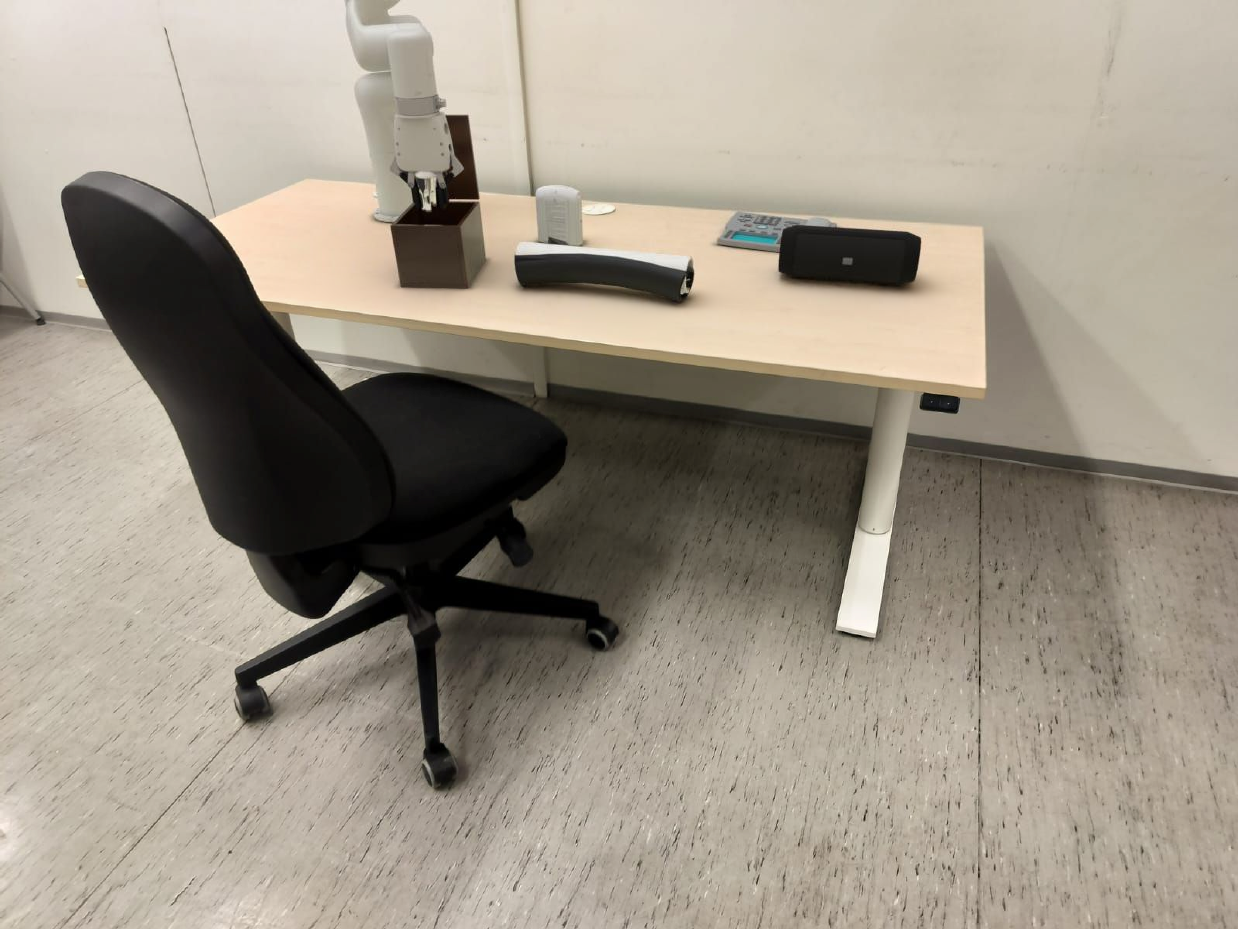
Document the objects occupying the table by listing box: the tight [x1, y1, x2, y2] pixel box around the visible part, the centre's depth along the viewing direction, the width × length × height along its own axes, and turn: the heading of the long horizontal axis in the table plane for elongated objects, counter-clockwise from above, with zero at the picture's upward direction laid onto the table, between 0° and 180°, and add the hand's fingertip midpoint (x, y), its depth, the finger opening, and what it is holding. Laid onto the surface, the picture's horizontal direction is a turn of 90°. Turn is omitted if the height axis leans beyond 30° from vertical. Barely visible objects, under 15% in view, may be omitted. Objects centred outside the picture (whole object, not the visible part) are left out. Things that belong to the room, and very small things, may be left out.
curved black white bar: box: [513, 237, 695, 303], centre depth 163 cm, size 35×9×14 cm
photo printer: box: [535, 184, 584, 247], centre depth 184 cm, size 10×4×12 cm, turn 72°
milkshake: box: [415, 171, 440, 219], centre depth 162 cm, size 4×5×10 cm
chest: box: [389, 200, 487, 289], centre depth 170 cm, size 16×14×12 cm
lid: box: [445, 114, 481, 201], centre depth 168 cm, size 16×14×1 cm
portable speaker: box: [777, 225, 922, 287], centre depth 163 cm, size 26×10×10 cm, turn 75°
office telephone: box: [716, 211, 838, 253], centre depth 187 cm, size 23×3×20 cm
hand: (432, 205), depth 164 cm, fingers closed on milkshake, 4 cm apart
